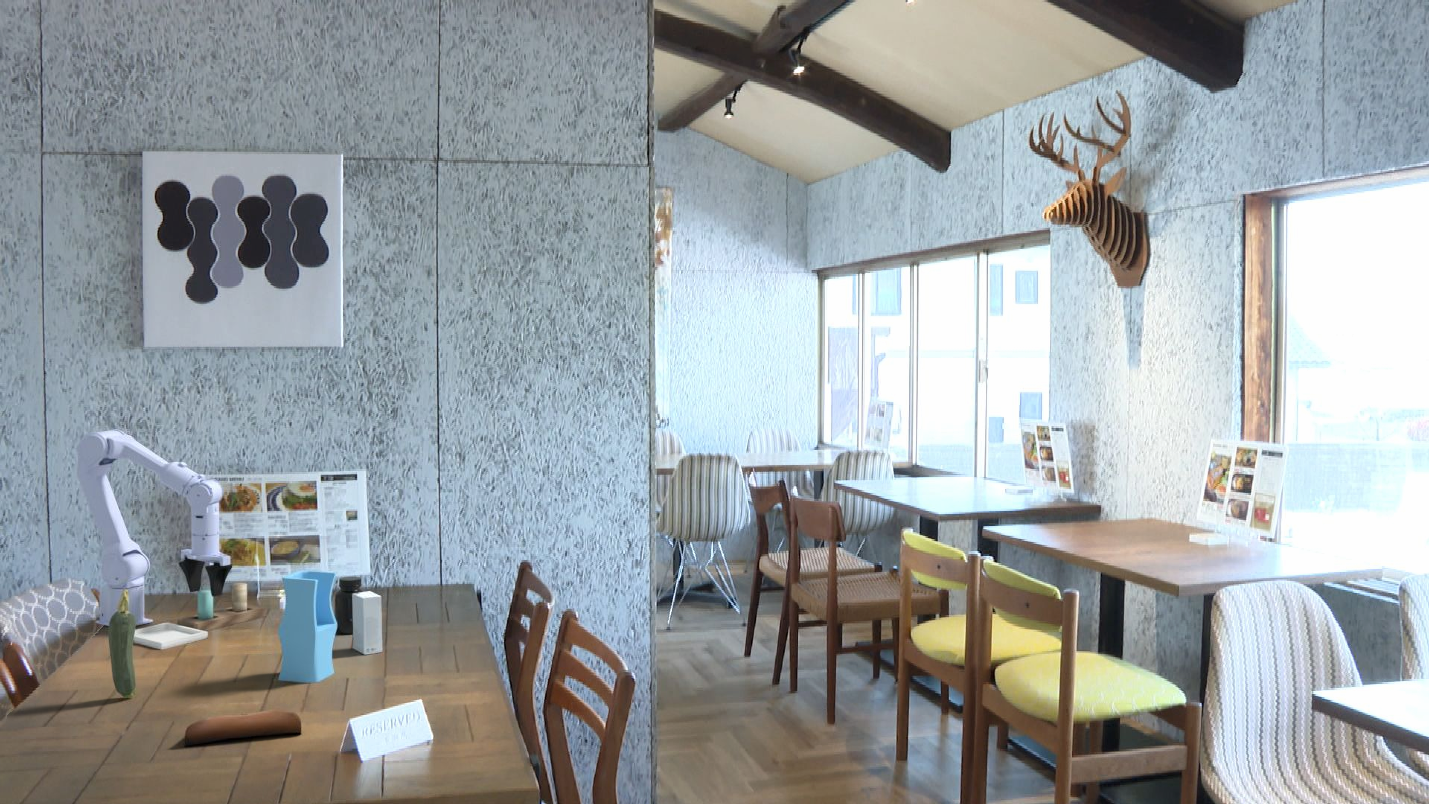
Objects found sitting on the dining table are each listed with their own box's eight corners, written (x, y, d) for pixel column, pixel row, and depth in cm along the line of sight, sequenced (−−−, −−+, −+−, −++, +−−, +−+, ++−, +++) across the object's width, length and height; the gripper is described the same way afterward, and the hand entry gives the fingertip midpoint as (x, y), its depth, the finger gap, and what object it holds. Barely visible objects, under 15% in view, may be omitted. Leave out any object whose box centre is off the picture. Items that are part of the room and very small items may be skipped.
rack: (197, 632, 251) (197, 623, 251) (177, 628, 255) (177, 619, 254) (265, 616, 267) (265, 607, 267) (246, 612, 270) (246, 603, 270)
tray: (120, 639, 244) (120, 633, 244) (167, 628, 254) (167, 622, 254) (161, 649, 238) (161, 643, 237) (207, 638, 247) (207, 631, 247)
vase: (315, 683, 218) (315, 580, 216) (278, 680, 219) (278, 577, 218) (336, 672, 225) (337, 572, 224) (300, 668, 227) (301, 569, 226)
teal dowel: (194, 626, 256) (194, 591, 256) (207, 623, 259) (207, 589, 258) (203, 628, 255) (203, 593, 254) (216, 625, 257) (216, 591, 257)
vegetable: (124, 704, 203) (123, 593, 202) (103, 702, 204) (102, 592, 203) (141, 696, 208) (140, 588, 206) (120, 694, 208) (119, 586, 207)
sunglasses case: (299, 718, 198) (300, 692, 194) (301, 751, 192) (302, 724, 189) (185, 730, 191) (184, 703, 187) (184, 764, 185) (183, 737, 182)
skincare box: (383, 652, 240) (383, 595, 239) (362, 655, 237) (363, 598, 236) (371, 645, 245) (372, 590, 244) (351, 649, 242) (351, 592, 241)
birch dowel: (229, 618, 264) (229, 584, 263) (240, 615, 267) (240, 582, 266) (238, 620, 262) (238, 586, 262) (249, 617, 265) (250, 583, 265)
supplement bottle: (359, 635, 252) (359, 582, 252) (329, 634, 253) (329, 581, 252) (369, 627, 259) (369, 575, 259) (339, 626, 259) (340, 574, 259)
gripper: (168, 532, 256) (169, 592, 256) (210, 539, 248) (211, 601, 249) (196, 528, 262) (197, 586, 263) (238, 535, 255) (238, 595, 255)
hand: (205, 593), depth 256 cm, fingers open, 7 cm apart
